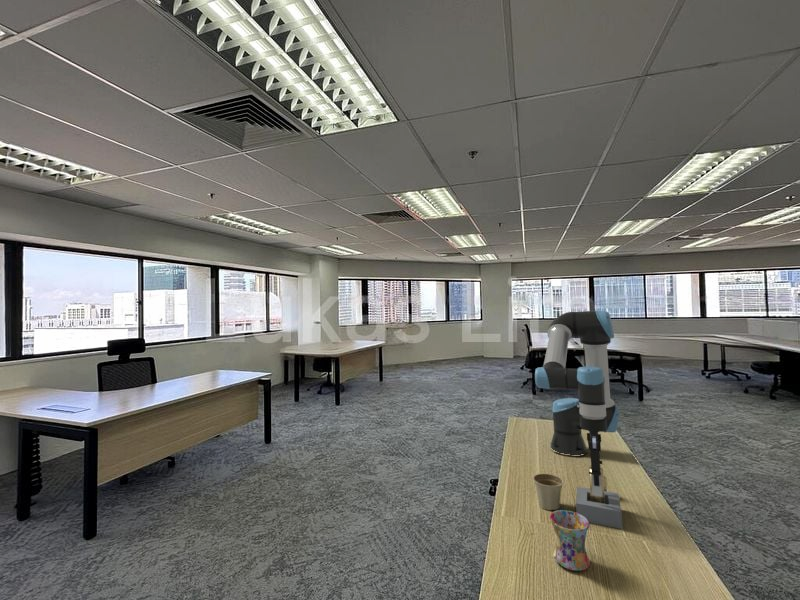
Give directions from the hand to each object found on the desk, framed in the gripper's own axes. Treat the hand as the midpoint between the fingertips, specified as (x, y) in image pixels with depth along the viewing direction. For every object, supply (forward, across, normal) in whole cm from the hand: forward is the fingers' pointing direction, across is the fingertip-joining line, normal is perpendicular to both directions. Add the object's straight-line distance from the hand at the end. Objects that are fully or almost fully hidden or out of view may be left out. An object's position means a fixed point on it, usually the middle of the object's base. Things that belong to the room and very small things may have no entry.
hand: (597, 489), depth 114 cm
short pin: (+8, -14, +1) cm, 16 cm away
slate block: (+8, 0, 0) cm, 8 cm away
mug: (+8, +26, -7) cm, 28 cm away
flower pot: (+8, +1, -14) cm, 16 cm away
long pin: (+8, 0, 0) cm, 8 cm away
